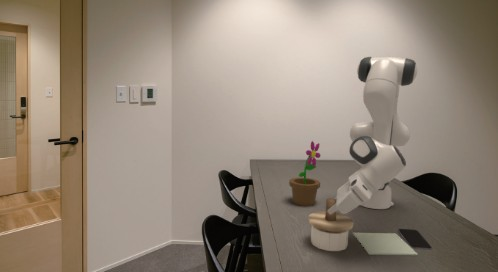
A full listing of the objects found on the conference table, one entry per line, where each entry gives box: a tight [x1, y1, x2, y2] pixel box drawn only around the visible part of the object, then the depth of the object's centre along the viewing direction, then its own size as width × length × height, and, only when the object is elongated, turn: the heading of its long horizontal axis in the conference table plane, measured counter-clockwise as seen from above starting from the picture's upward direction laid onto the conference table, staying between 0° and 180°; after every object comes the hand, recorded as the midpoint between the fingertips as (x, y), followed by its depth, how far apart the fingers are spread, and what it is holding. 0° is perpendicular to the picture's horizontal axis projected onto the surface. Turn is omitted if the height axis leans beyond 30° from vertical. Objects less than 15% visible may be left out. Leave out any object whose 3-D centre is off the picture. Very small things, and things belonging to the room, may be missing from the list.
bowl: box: [310, 225, 350, 252], centre depth 116 cm, size 12×12×6 cm
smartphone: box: [397, 228, 433, 250], centre depth 121 cm, size 7×1×15 cm
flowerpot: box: [288, 140, 321, 207], centre depth 157 cm, size 14×14×30 cm
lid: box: [307, 197, 354, 232], centre depth 115 cm, size 15×15×8 cm
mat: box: [352, 232, 419, 257], centre depth 117 cm, size 16×16×1 cm
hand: (329, 209), depth 115 cm, fingers open, 4 cm apart
